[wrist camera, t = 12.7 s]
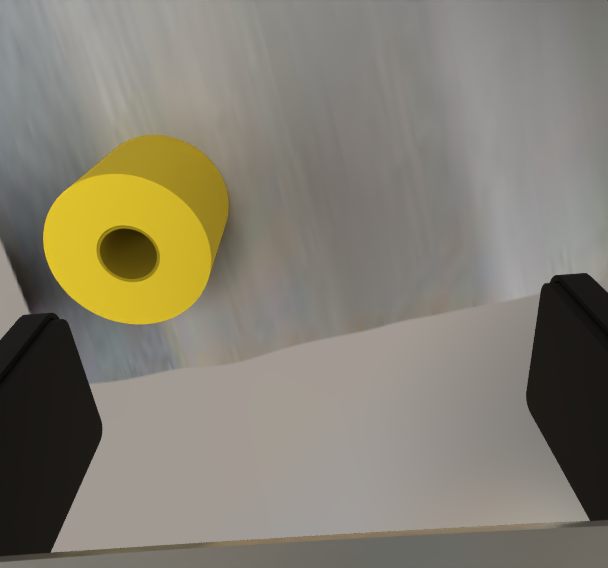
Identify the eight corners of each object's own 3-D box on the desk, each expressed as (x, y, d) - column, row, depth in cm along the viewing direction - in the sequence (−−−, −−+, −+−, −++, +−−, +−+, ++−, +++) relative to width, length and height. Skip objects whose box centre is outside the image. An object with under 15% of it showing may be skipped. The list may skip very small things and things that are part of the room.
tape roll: (133, 275, 44) (95, 341, 36) (70, 160, 40) (10, 205, 31) (248, 239, 43) (235, 299, 34) (196, 116, 38) (168, 150, 30)
